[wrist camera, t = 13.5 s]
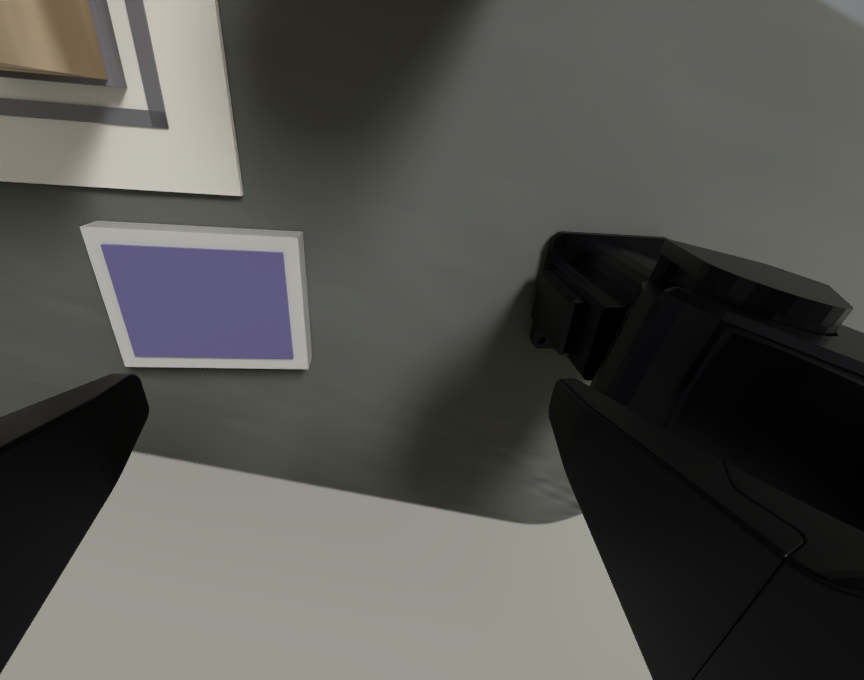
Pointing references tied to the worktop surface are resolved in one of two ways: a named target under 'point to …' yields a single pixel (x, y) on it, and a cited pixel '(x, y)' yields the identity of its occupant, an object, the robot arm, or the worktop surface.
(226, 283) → the ink pad
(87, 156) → the print card
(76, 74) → the stamp
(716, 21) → the worktop surface
